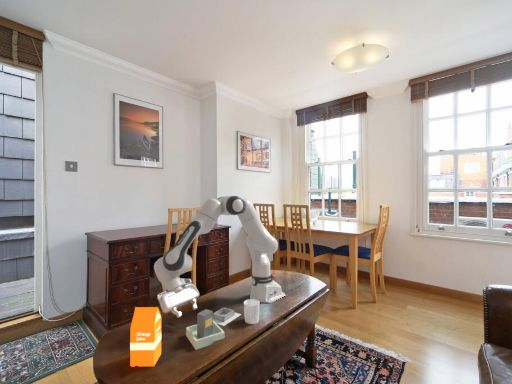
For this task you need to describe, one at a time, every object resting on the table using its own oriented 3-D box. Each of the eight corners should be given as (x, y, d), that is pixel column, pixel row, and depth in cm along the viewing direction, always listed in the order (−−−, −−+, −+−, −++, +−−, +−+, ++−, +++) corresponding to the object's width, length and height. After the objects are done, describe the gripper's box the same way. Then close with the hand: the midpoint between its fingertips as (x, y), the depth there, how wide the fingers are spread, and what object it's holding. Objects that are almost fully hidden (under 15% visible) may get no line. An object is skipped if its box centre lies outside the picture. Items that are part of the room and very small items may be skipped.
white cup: (240, 322, 127) (240, 301, 127) (252, 317, 132) (252, 297, 132) (250, 328, 121) (250, 307, 121) (262, 323, 126) (262, 302, 126)
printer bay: (223, 310, 140) (223, 304, 140) (241, 316, 133) (241, 309, 133) (205, 321, 128) (205, 314, 128) (224, 328, 121) (224, 320, 121)
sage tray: (212, 327, 122) (212, 319, 122) (224, 340, 111) (224, 332, 111) (185, 335, 115) (185, 327, 115) (195, 349, 104) (195, 341, 104)
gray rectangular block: (206, 331, 116) (206, 309, 117) (213, 333, 114) (213, 311, 114) (197, 336, 112) (197, 313, 112) (204, 339, 110) (204, 316, 110)
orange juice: (154, 366, 94) (154, 311, 94) (129, 366, 94) (130, 311, 94) (161, 353, 102) (161, 302, 102) (139, 353, 102) (139, 303, 102)
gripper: (158, 290, 114) (173, 318, 109) (193, 278, 131) (207, 301, 126) (152, 298, 117) (166, 325, 111) (186, 285, 134) (200, 308, 128)
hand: (188, 312), depth 119 cm, fingers open, 8 cm apart
